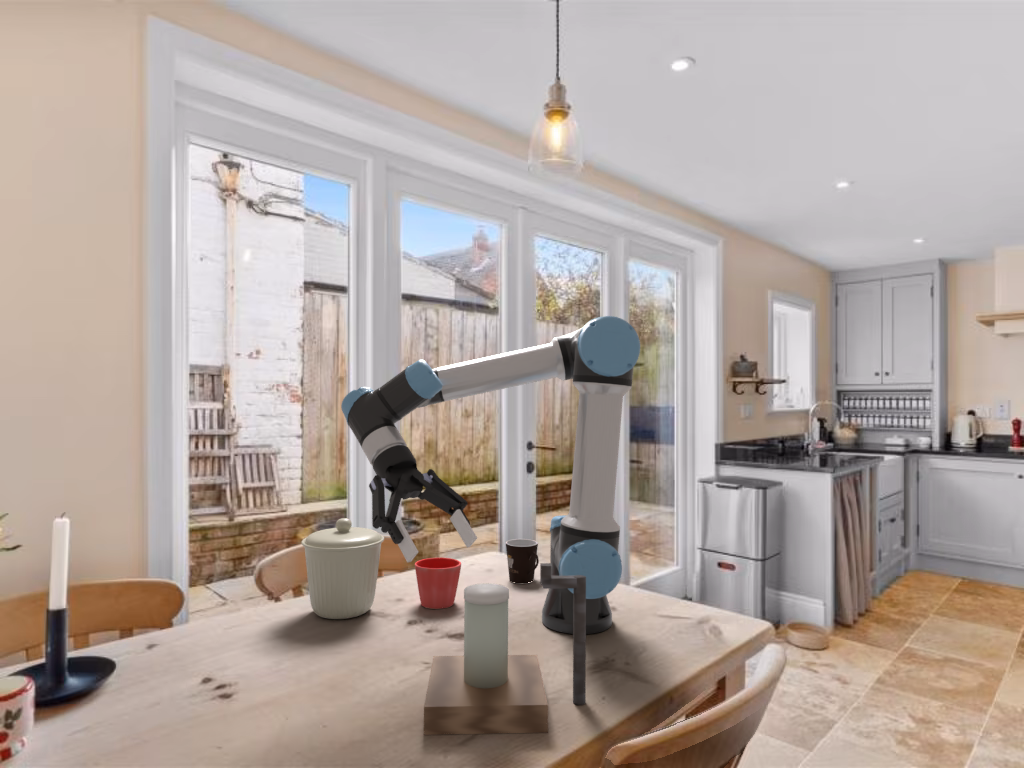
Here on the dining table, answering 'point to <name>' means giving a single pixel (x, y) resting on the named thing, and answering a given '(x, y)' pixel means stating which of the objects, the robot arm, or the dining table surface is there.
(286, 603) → the dining table surface
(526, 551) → the coffee mug
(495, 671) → the domed lid bottle
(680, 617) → the dining table surface
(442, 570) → the flower pot
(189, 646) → the dining table surface
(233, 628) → the dining table surface
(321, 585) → the canister
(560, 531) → the robot arm
